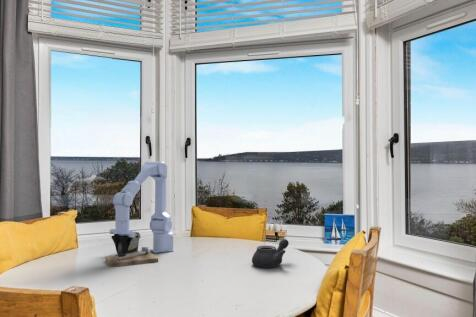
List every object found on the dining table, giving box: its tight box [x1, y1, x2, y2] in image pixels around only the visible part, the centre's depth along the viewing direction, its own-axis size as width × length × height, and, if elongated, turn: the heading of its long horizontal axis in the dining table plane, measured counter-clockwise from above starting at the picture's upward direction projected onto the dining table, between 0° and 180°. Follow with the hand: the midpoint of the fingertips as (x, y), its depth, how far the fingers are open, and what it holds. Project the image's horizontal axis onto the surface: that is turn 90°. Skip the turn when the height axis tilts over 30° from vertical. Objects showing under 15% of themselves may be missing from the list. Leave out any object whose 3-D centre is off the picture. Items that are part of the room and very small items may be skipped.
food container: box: [116, 231, 141, 256], centre depth 182 cm, size 12×6×10 cm, turn 84°
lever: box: [115, 242, 150, 260], centre depth 170 cm, size 16×3×7 cm, turn 146°
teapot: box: [251, 238, 290, 269], centre depth 165 cm, size 19×15×10 cm
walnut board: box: [105, 252, 159, 268], centre depth 168 cm, size 20×12×2 cm, turn 118°
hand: (121, 252), depth 165 cm, fingers open, 3 cm apart
